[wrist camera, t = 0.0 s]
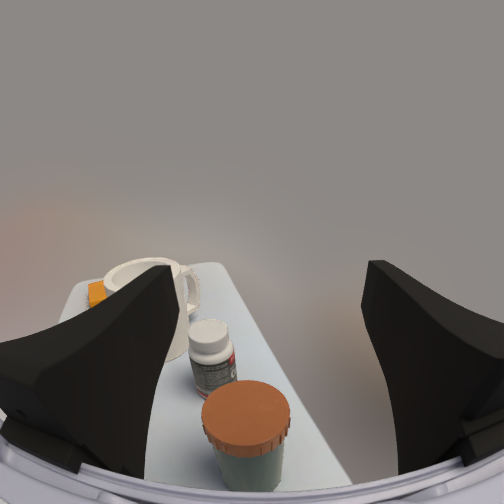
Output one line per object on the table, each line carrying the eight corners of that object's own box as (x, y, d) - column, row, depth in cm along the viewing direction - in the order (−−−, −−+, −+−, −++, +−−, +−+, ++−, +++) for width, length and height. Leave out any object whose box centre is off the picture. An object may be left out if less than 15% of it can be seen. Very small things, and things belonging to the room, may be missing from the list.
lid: (291, 458, 15) (292, 445, 14) (198, 455, 15) (193, 443, 14) (287, 393, 20) (288, 378, 19) (210, 393, 20) (207, 378, 20)
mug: (176, 304, 49) (166, 245, 45) (222, 325, 43) (215, 258, 39) (110, 342, 39) (90, 277, 35) (151, 375, 33) (129, 302, 29)
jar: (281, 497, 18) (287, 446, 15) (219, 496, 19) (199, 443, 15) (280, 451, 23) (284, 385, 19) (225, 450, 23) (211, 385, 20)
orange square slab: (92, 313, 46) (85, 292, 44) (90, 294, 52) (85, 274, 51) (134, 302, 49) (129, 281, 48) (127, 284, 56) (123, 265, 54)
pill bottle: (243, 396, 30) (238, 338, 27) (201, 405, 29) (188, 349, 26) (231, 369, 34) (225, 313, 31) (193, 377, 33) (181, 321, 30)
